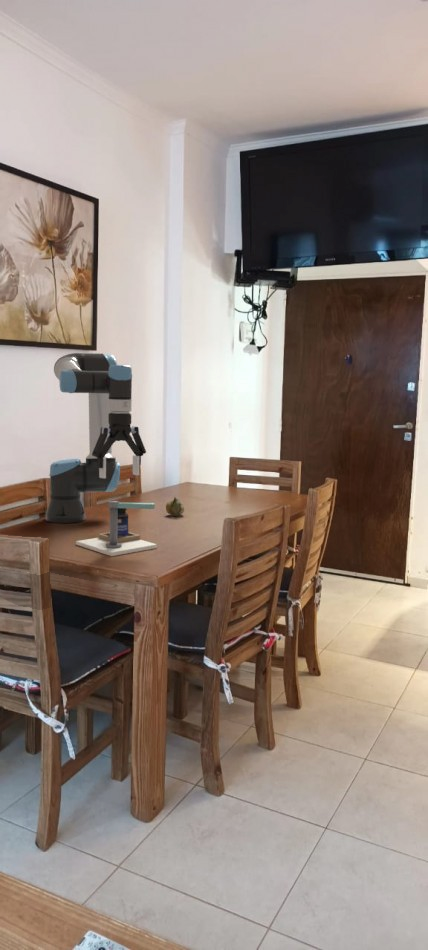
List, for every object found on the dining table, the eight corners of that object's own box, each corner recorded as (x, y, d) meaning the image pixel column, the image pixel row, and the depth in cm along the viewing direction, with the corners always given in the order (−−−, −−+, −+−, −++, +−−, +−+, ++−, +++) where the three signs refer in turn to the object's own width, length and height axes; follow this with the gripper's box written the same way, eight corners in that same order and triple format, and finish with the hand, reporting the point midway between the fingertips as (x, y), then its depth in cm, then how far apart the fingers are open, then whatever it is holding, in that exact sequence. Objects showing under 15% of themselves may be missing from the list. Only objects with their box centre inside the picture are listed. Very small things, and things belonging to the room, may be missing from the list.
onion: (188, 515, 290) (188, 496, 289) (177, 518, 283) (177, 498, 282) (173, 513, 294) (173, 494, 293) (162, 515, 287) (162, 496, 286)
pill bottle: (112, 541, 234) (112, 508, 233) (108, 537, 240) (107, 505, 238) (130, 539, 237) (130, 507, 235) (125, 536, 242) (125, 504, 241)
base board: (76, 544, 233) (76, 503, 231) (120, 537, 246) (120, 498, 244) (111, 556, 219) (111, 512, 217) (156, 547, 231) (157, 506, 229)
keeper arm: (107, 508, 223) (107, 502, 223) (109, 506, 227) (109, 500, 226) (153, 509, 223) (153, 503, 222) (155, 507, 226) (155, 501, 226)
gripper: (94, 413, 221) (94, 480, 224) (156, 412, 238) (155, 474, 241) (81, 412, 226) (81, 477, 229) (143, 411, 243) (142, 472, 246)
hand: (119, 476), depth 235 cm, fingers open, 13 cm apart
